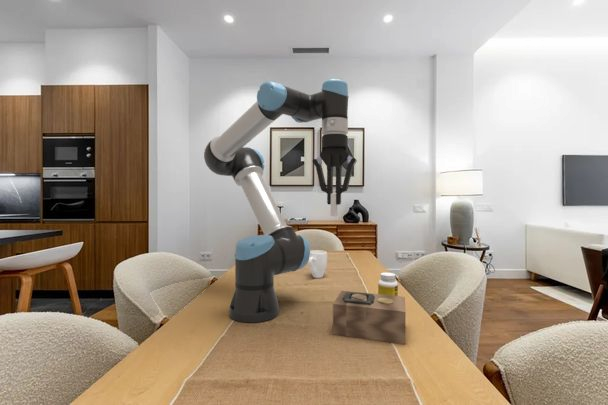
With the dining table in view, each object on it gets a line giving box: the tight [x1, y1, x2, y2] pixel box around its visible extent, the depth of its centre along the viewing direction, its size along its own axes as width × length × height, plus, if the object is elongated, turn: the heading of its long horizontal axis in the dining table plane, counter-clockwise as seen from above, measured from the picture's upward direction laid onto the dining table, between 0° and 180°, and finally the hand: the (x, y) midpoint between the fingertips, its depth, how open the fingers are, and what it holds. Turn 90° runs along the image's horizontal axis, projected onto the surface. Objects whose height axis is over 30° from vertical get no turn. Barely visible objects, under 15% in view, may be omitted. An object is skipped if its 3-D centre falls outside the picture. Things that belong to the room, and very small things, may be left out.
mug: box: [307, 249, 328, 279], centre depth 138 cm, size 12×8×11 cm
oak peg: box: [352, 294, 367, 301], centre depth 85 cm, size 4×4×8 cm
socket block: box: [332, 290, 407, 345], centre depth 84 cm, size 18×12×9 cm, turn 73°
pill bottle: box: [377, 272, 399, 296], centre depth 101 cm, size 6×6×11 cm
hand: (333, 215), depth 90 cm, fingers closed
